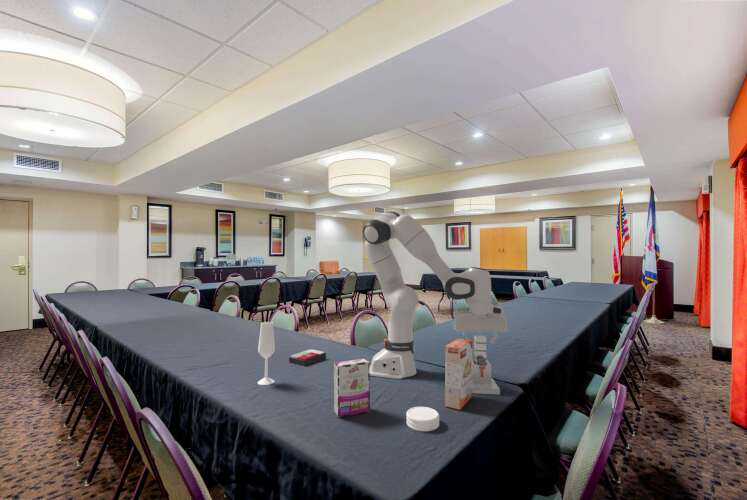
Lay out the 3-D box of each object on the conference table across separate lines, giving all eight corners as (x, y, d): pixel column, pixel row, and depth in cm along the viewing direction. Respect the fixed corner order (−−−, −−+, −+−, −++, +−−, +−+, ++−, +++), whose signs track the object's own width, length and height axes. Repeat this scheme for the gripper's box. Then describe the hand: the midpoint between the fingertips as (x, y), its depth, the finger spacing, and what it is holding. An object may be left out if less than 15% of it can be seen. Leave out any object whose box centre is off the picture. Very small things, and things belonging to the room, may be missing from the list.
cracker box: (461, 411, 113) (461, 347, 114) (444, 407, 117) (444, 345, 117) (473, 397, 125) (473, 339, 126) (457, 393, 128) (457, 337, 129)
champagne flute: (253, 383, 138) (254, 323, 139) (264, 378, 144) (265, 321, 145) (267, 385, 136) (268, 324, 137) (277, 380, 142) (278, 322, 143)
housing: (466, 393, 129) (466, 359, 130) (462, 382, 141) (462, 351, 142) (499, 394, 128) (499, 360, 128) (492, 383, 140) (492, 352, 140)
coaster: (435, 416, 110) (435, 405, 110) (442, 432, 100) (442, 420, 100) (404, 417, 109) (404, 406, 110) (408, 432, 99) (408, 420, 100)
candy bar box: (364, 406, 117) (364, 357, 117) (370, 412, 112) (370, 361, 113) (333, 412, 112) (333, 361, 113) (337, 418, 108) (338, 365, 108)
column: (475, 389, 133) (475, 337, 133) (474, 385, 137) (473, 335, 137) (486, 390, 132) (486, 338, 133) (484, 386, 136) (484, 335, 137)
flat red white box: (288, 355, 168) (310, 347, 180) (288, 364, 168) (311, 356, 180) (304, 359, 161) (326, 351, 174) (304, 368, 161) (326, 359, 174)
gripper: (453, 309, 134) (454, 344, 133) (508, 309, 131) (509, 346, 131) (452, 306, 140) (452, 340, 139) (504, 307, 137) (504, 342, 137)
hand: (480, 343), depth 135 cm, fingers open, 8 cm apart
